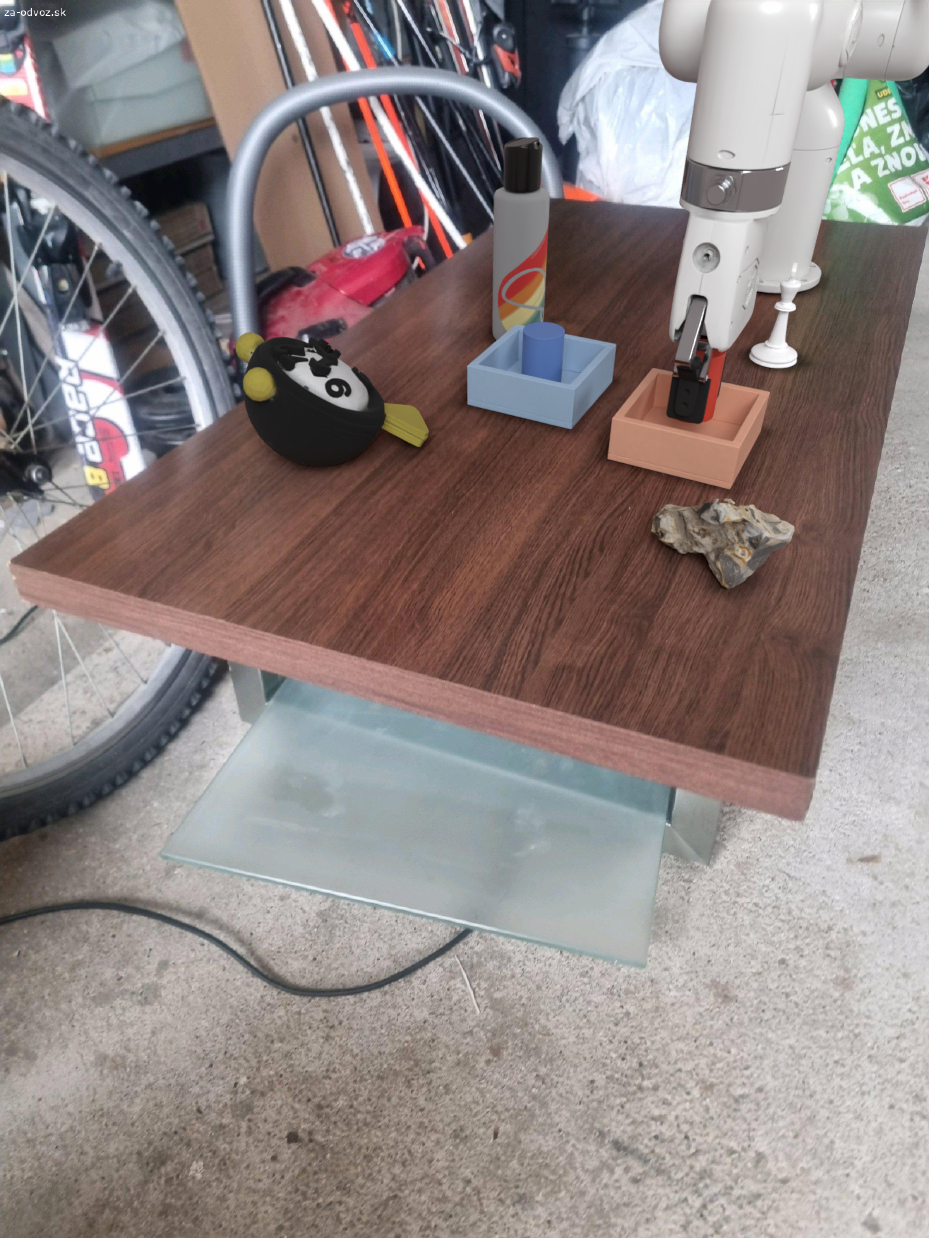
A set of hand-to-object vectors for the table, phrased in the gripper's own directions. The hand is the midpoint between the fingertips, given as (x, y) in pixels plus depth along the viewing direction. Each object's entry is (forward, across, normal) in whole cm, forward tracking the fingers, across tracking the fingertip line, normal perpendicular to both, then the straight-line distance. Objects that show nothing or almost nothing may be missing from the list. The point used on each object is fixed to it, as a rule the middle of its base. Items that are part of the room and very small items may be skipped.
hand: (692, 405), depth 77 cm
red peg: (+1, 0, 0) cm, 1 cm away
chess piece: (+4, +22, -3) cm, 23 cm away
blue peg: (+3, +3, +16) cm, 17 cm away
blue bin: (+4, +4, +16) cm, 17 cm away
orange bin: (+4, 0, 0) cm, 4 cm away
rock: (+4, -16, -7) cm, 18 cm away
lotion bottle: (+4, +15, +24) cm, 29 cm away
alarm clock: (+4, -16, +28) cm, 32 cm away
